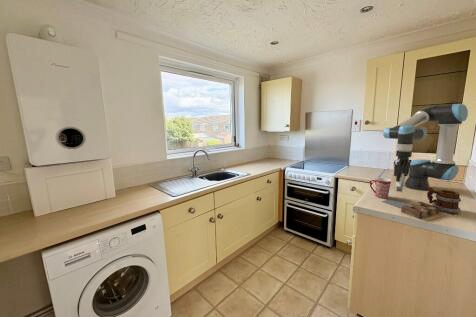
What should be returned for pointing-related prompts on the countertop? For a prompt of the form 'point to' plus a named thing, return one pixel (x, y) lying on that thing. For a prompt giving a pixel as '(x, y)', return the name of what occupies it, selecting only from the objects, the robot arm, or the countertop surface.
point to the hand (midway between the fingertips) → (399, 185)
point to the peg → (401, 184)
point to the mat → (396, 202)
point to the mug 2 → (445, 200)
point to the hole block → (419, 210)
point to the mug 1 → (381, 187)
